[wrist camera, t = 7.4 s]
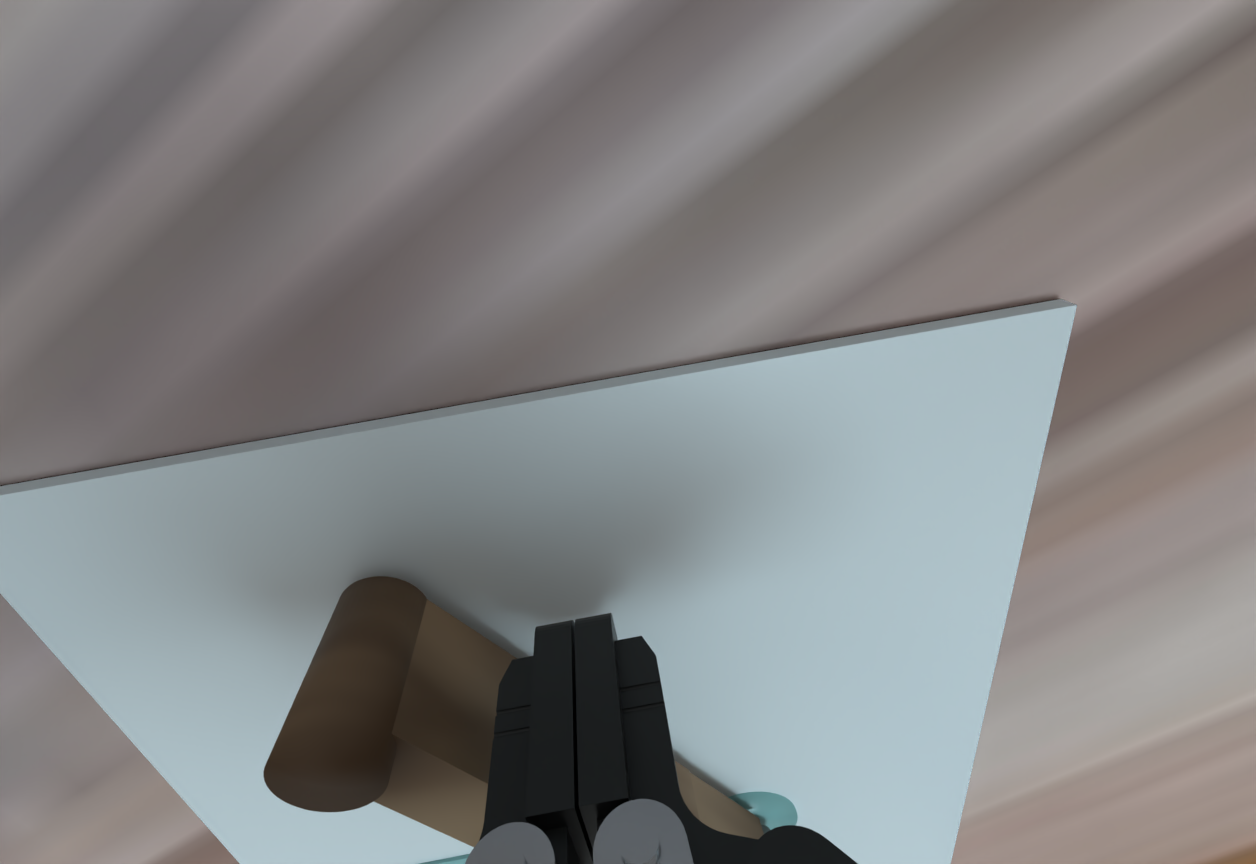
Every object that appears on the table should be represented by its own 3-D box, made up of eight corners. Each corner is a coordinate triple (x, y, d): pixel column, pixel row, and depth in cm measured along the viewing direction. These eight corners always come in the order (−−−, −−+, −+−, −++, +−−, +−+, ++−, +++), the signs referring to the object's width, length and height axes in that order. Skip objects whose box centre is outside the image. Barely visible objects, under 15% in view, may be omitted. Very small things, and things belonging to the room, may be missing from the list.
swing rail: (319, 611, 12) (222, 816, 9) (377, 561, 12) (300, 757, 8) (737, 858, 18) (780, 1036, 15) (785, 832, 18) (842, 1008, 14)
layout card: (-56, 496, 11) (-80, 512, 10) (1061, 298, 11) (1081, 306, 11) (421, 1052, 24) (419, 1070, 24) (922, 952, 25) (929, 968, 24)
